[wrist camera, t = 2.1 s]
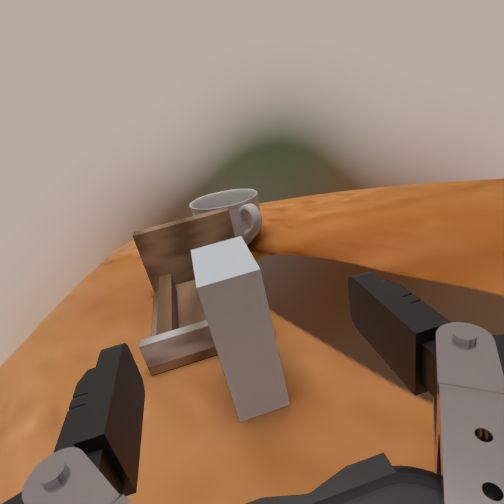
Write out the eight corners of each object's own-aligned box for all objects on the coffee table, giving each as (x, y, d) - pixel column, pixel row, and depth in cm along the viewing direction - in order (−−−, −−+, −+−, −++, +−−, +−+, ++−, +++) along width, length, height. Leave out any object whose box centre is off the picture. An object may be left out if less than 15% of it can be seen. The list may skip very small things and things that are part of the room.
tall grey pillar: (269, 353, 31) (241, 235, 26) (290, 404, 26) (260, 269, 21) (227, 367, 31) (190, 250, 26) (239, 422, 25) (196, 287, 20)
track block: (241, 267, 48) (226, 207, 44) (273, 336, 33) (255, 255, 29) (156, 292, 46) (133, 231, 42) (151, 375, 32) (116, 296, 28)
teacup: (194, 243, 59) (181, 200, 56) (249, 223, 62) (240, 181, 59) (222, 273, 47) (207, 220, 44) (288, 246, 51) (279, 195, 47)
